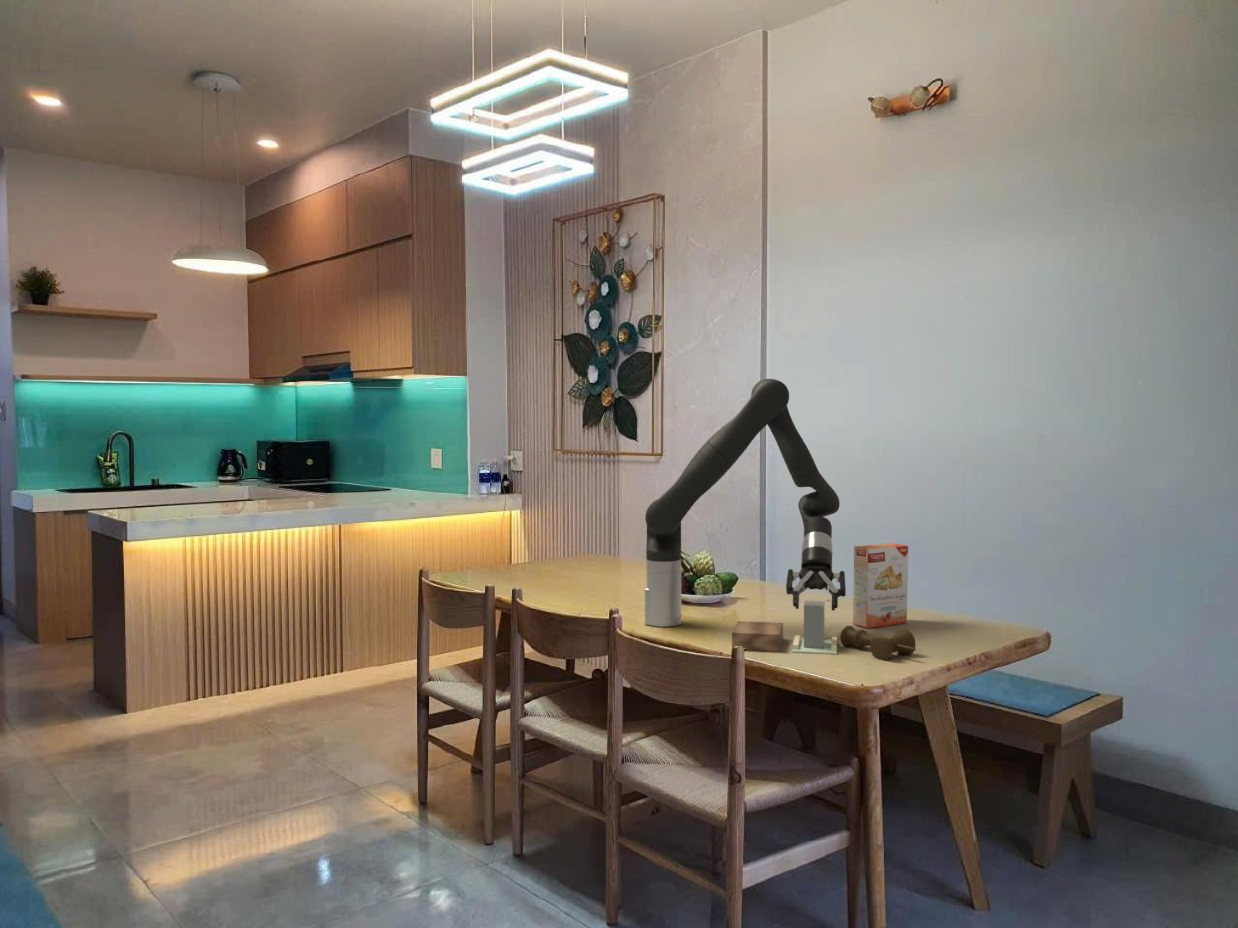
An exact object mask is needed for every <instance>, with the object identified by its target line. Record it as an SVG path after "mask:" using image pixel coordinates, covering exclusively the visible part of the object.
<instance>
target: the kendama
mask: <svg viewBox="0 0 1238 928" xmlns="http://www.w3.org/2000/svg"><path fill="white" fill-rule="evenodd" d="M839 638H840V639H839V640H840V642H841V644H842V646H844V647H846V648H847V647H851V646H856V648H858V649H862V648H865V647H868V646H869V647H870V652H871V654H872V656H873V657H874V658H875V659H876V658H877V660H881V661H887V660H888V659H889V658H890V657H891V655H892V654H893V653H896V652H897V653H899V654H900V655H904V656H905V655H906V656H907V655H908V656H909V655H913V653H914V652H915V651H916V650H917V649H916V644H917V643H916V638H915V636H914V635H913V633H912V632H911V631H910V630H908V629H906V628H898V629H897V630H895V632H894V633H893V635H892V637H884V636H883V635H875V636H874V635H871V634H868V632H867V631H866V630H865V629H859V630H857V629H855V627H853V626H852V625H846V626H844V627H843V628H842V629H841V632H840V637H839Z"/></svg>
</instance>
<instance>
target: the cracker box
mask: <svg viewBox="0 0 1238 928" xmlns="http://www.w3.org/2000/svg"><path fill="white" fill-rule="evenodd" d="M853 555H854V556H853V605H852V606H853V607H852V609H853V611H852V612H853V613H852V620H853V621H852V623H853V624H852V625H856V626H859V627H862V628H864V629H870V628H871V629H872V628H879V627H886V626H893V625H894V626H895V625H902V624H907V623H908V581H909V579H908V576H909V574H908V572H909V571H908V570H909V568H908V567H909V545H906V544H902V543H897V542H894V543H892V542H890V543H881V544H869V545H866V544H865V545H855V546H854V548H853Z"/></svg>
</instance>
